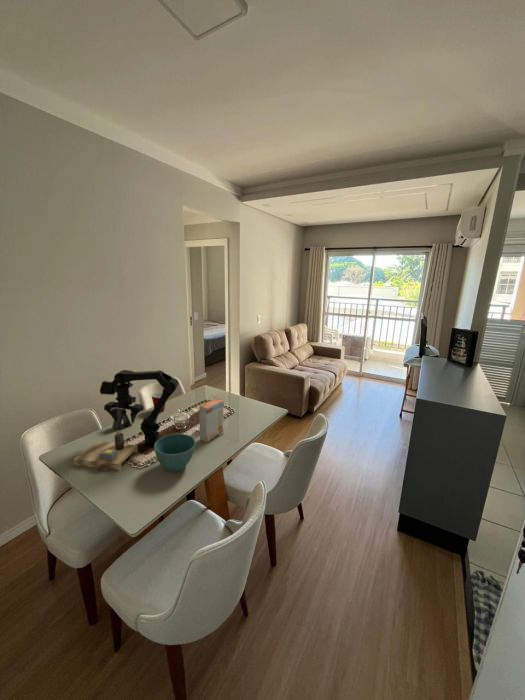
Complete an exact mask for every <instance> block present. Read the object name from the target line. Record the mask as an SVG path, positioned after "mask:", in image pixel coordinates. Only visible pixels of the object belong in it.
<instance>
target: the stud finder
mask: <svg viewBox="0 0 525 700" xmlns="http://www.w3.org/2000/svg"><path fill="white" fill-rule="evenodd" d="M117 456H118V455H117V450H111V449H105V450H103V451H102V452H101V453H100V459H101V460H110V461H113V460H114V459H115V458H116V457H117Z"/></svg>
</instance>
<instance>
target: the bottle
mask: <svg viewBox="0 0 525 700" xmlns="http://www.w3.org/2000/svg"><path fill="white" fill-rule="evenodd" d="M115 431H116V430H115ZM114 443H115V449H116V450H122V449H124V444H125V439H124V433H123V432H122V430H117V431H116V434H114Z"/></svg>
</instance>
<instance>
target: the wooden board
mask: <svg viewBox="0 0 525 700" xmlns="http://www.w3.org/2000/svg"><path fill="white" fill-rule="evenodd" d="M105 449H111V450H116V449H115V442H109V441H108V442H107V441H101V440H97V441H95V442H94V443H93V444H91V445H90V446H88V447H87V448H86V449H85V450H84V451H82V452H80V454H78V455H77V456H75V458H73V462H74V466H79V467H88V468H89V467H90V468H98V471H102V472H108V471H109V470H113V471H120V470H121V469H122V466H123V465H122V464H123V463H124V462H125V461H126V460H127V458H129V457H130V456H131V455H132V454H137V453H138V445H137V444H127V443H124V449H122V450H117V455H118V456H117V457H116V458H115V459H114V460H113V461H110V460H101V459H100V453H101V452H102V451H103V450H105Z"/></svg>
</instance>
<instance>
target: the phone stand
mask: <svg viewBox="0 0 525 700" xmlns="http://www.w3.org/2000/svg"><path fill="white" fill-rule="evenodd" d="M117 417H118V420H117V422H115V420H114V419H113V422H112V423H113V424H112V427H111V428H112V429H114V430H115V431H117V430H121V431H122V430H125V429H128V428H130V427H132V426H133V424H132V421H131V419H130V418H129V417H128V414H127V409H118V410H117ZM122 422H123V423H122Z"/></svg>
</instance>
